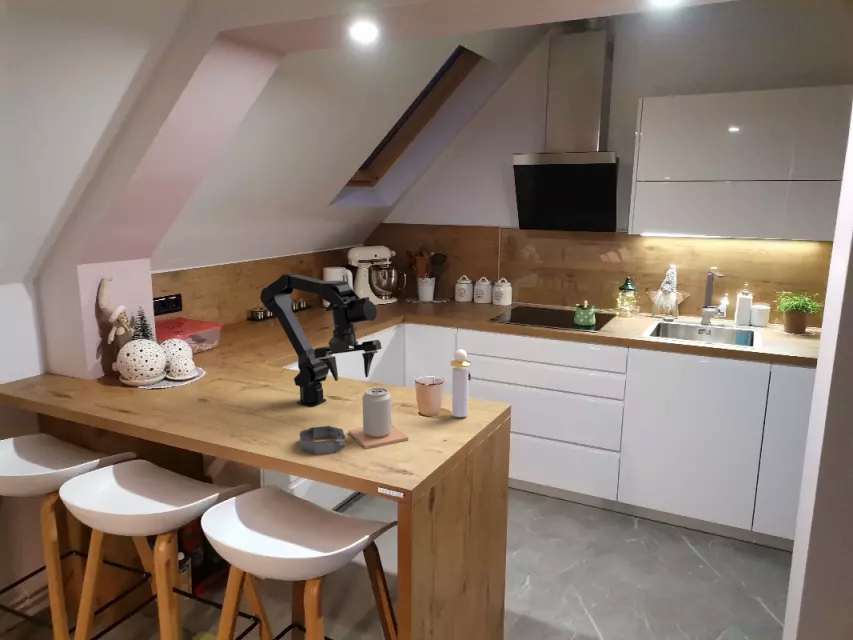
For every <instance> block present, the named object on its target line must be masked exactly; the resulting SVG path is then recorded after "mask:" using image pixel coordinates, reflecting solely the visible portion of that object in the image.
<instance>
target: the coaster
mask: <svg viewBox="0 0 853 640" xmlns="http://www.w3.org/2000/svg"><path fill="white" fill-rule="evenodd" d="M348 434H349V435H350V436H352V438H353V439H354V440H356V442H358V444H360V445H361V446H362V448H364V449H365V450H369V449H372V448H373V449H374V448H377V447H381V446H387V445H392V444H397V443H401V442H406V441H409V436H407V435H406V434H404V432H403V431H401V430H400V429H399V428H397V427H396V426H394V425H393V424H392V430H391V432H390V433H389V434H388V435H387V436H385V437H381V438H373V437H369V436H367V434H365V433H364V431H363V427H358V428H354V429H349V430H348Z"/></svg>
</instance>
